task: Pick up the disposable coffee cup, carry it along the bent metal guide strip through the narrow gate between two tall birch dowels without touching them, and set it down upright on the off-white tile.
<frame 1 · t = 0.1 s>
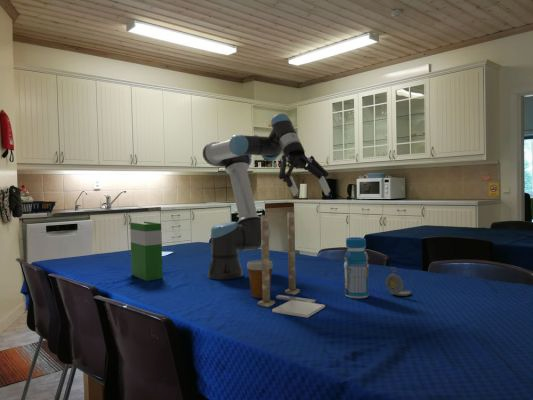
hand: (312, 193, 145), 36 cm above the table, tool tilted 35°, fingers open, 13 cm apart
beverage bottle: (356, 296, 142), on the table
hardback book: (146, 277, 184), on the table
tile: (298, 309, 127), on the table
pocket watch: (398, 295, 143), on the table
guide strip: (295, 300, 138), on the table
disposable coffee cup: (260, 296, 146), on the table
gate posts: (280, 298, 141), on the table
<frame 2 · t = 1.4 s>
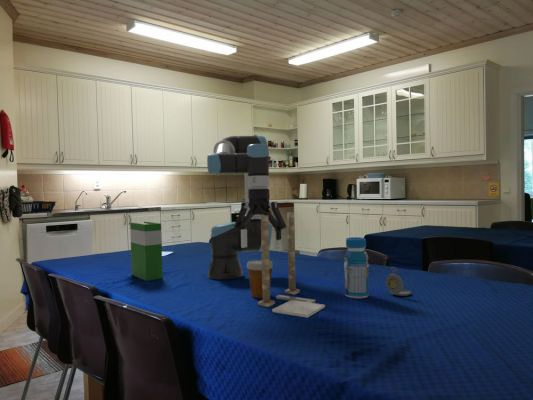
hand: (260, 248, 145), 17 cm above the table, tool pointing down, fingers open, 13 cm apart
nothing on the table moved.
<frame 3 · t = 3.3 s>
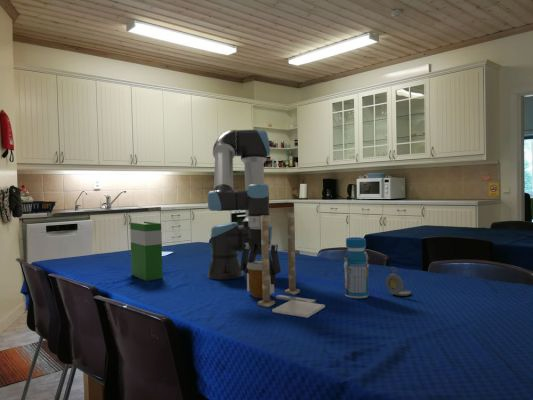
hand: (260, 291, 146), 1 cm above the table, tool pointing down, fingers closed on disposable coffee cup, 8 cm apart
disposable coffee cup: (260, 296, 146), on the table, touching gripper
everything else where it was.
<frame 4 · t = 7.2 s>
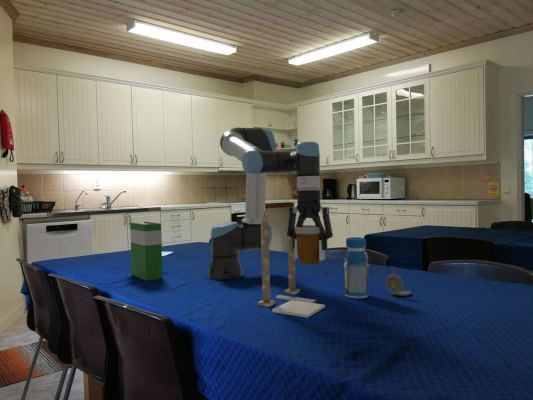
hand: (309, 258, 135), 14 cm above the table, tool pointing down, fingers closed on disposable coffee cup, 8 cm apart
disposable coffee cup: (309, 263, 135), point 13 cm above the table, touching gripper
everything else where it was.
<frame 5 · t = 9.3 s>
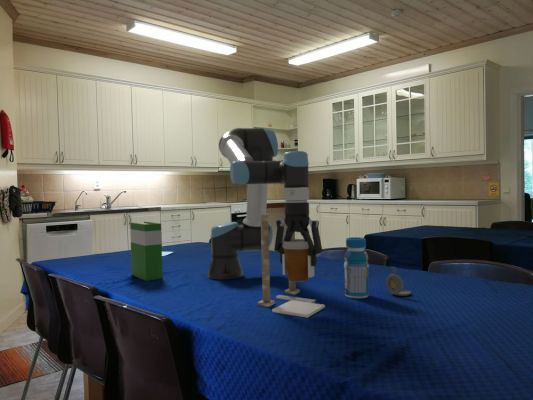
hand: (298, 275, 127), 11 cm above the table, tool pointing down, fingers closed on disposable coffee cup, 8 cm apart
disposable coffee cup: (298, 280, 127), point 9 cm above the table, touching gripper
everything else where it was.
when the fingers open (4 cm above the table, at t = 11.0 s): disposable coffee cup stays where it is, resting on tile.
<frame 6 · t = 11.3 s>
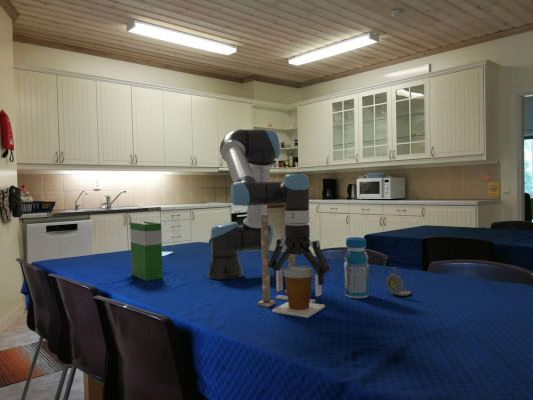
hand: (298, 292, 127), 5 cm above the table, tool pointing down, fingers open, 13 cm apart
disposable coffee cup: (299, 307, 127), point 1 cm above the table, touching tile
everything else where it was.
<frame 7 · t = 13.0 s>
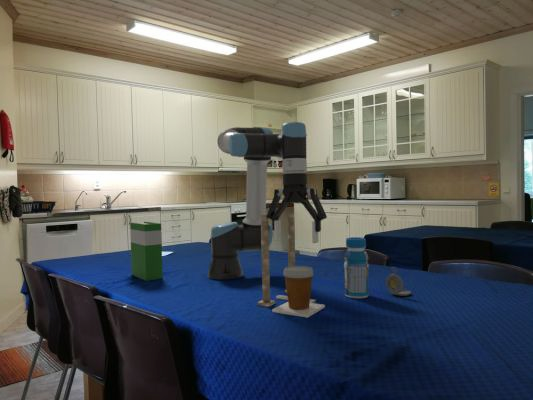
hand: (296, 241, 128), 21 cm above the table, tool pointing down, fingers open, 12 cm apart
nothing on the table moved.
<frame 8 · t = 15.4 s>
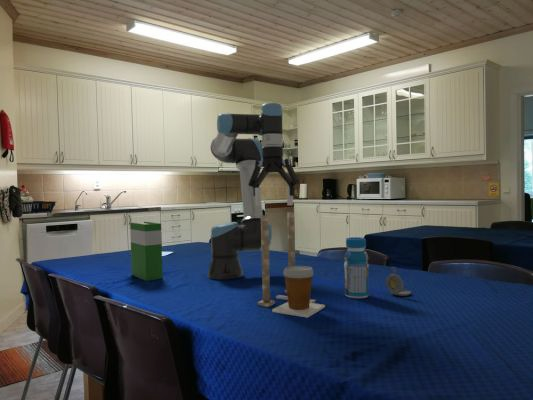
hand: (273, 205, 150), 32 cm above the table, tool pointing down, fingers open, 13 cm apart
nothing on the table moved.
at the end: disposable coffee cup 0.1 cm from the tile (horizontally); disposable coffee cup tilted 0°; the gripper is holding nothing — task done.
